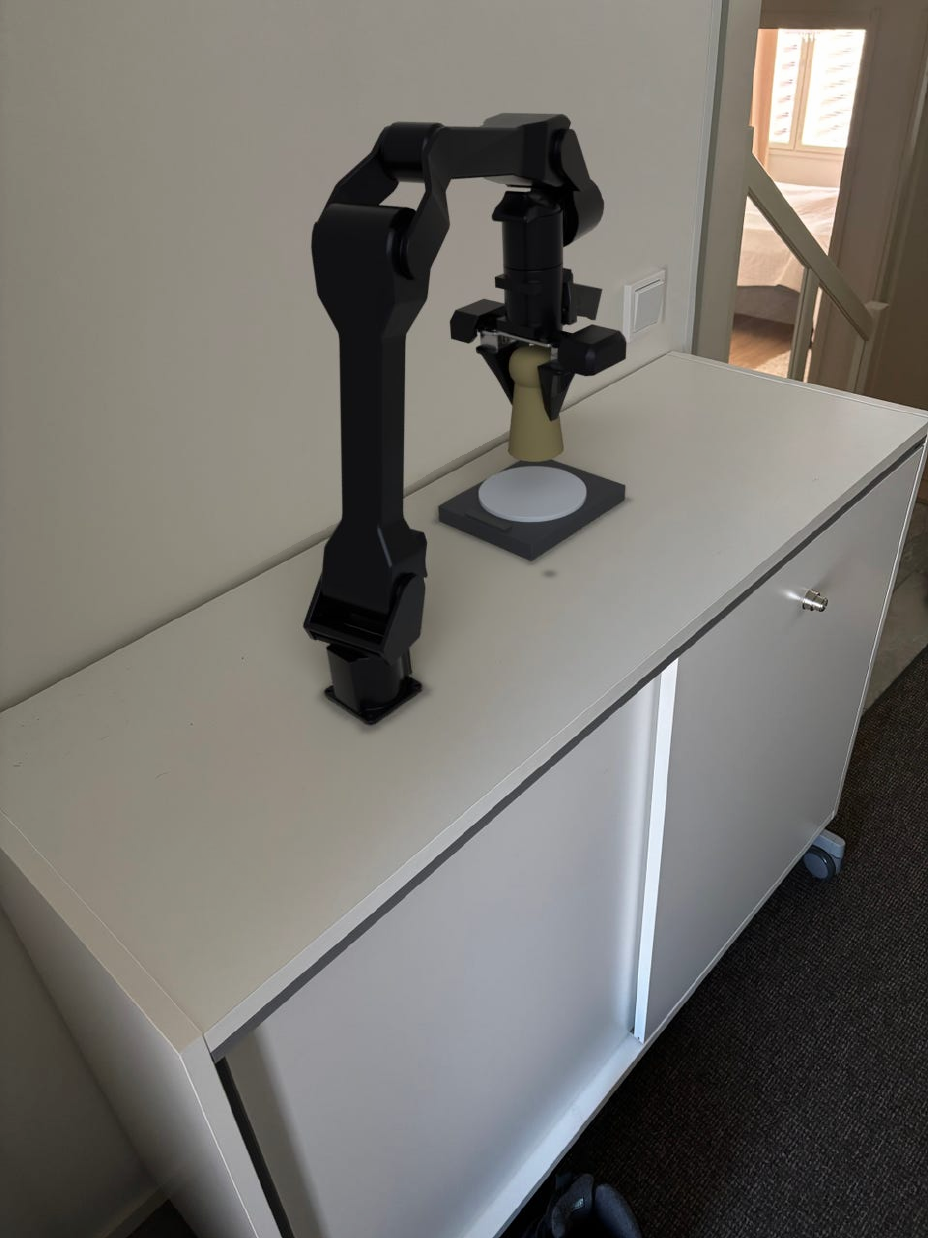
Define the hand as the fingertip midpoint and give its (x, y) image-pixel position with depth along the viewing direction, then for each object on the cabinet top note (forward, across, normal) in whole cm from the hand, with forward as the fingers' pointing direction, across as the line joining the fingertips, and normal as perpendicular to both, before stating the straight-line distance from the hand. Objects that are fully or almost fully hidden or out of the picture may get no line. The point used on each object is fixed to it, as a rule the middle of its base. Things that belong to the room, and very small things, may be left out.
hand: (535, 415), depth 97 cm
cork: (+4, 0, 0) cm, 4 cm away
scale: (+13, +2, -2) cm, 14 cm away
